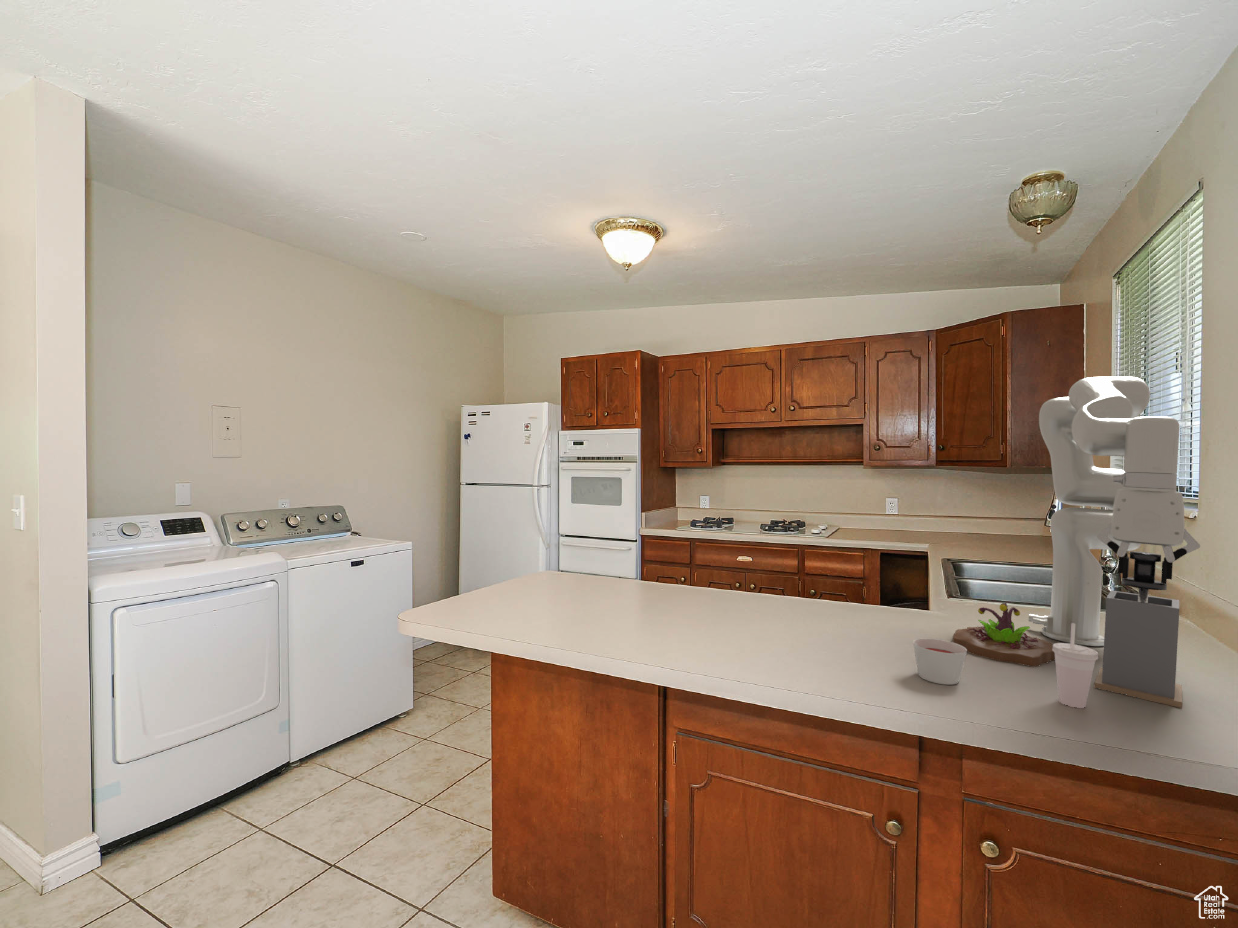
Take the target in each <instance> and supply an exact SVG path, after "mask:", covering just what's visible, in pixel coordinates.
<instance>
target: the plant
mask: <svg viewBox="0 0 1238 928" xmlns="http://www.w3.org/2000/svg"><path fill="white" fill-rule="evenodd" d="M999 610H1000V611H1002V615H1001V616H1000V615H999V614H998V613H997V612H996V611H995V610H993V609H992V608H987V607H980V608H978V610H977V611H978V614H980V615H984V614H985V613H986V611H988V612H990V613H991V614H992V615H993V616H994V617H995V618H996V619H997V622H995V621H994V620H992V619H991V618H988V622H986V621H984V620H981V619H978V622H979V623H980V624H981V625H982V626H968V627H966V628H958V629H956V630H955V632H954V633H953V636H952V642H953V643H956V644H959V645H961V646H963V647H965V648H966V649H967V653H970V654H972V655H975V656H979V657H983V658H986V659H991V660H993V661H994V660H995V661H998V662H1005V663H1012V662H1013V664H1019V665H1023V664H1024V666H1027V665H1029V666H1028V667H1040V666H1042V665H1043V664H1044V665H1045V664H1048V663H1049V662H1051V661H1055V660H1054V659H1055V653H1054V651H1052V649H1053V644H1054V643H1052V642H1051V641H1048V640H1044V639H1042V638H1039V637H1034V636H1030V635H1028V634H1027V633H1026V631H1027V630H1029V629H1031V627H1030V625H1029V626H1020V627H1017V628H1016V629H1015V622H1013V620H1012V613H1013V614H1014V616H1016V617H1019V616H1020V615H1021V612H1020V610H1019V609H1018V608H1016V607H1014V606H1013V607H1011V608H1010V609H1009V608H1008V605H1007V602H1002V603H1001V604H1000V605H999ZM1050 660H1051V661H1050ZM1047 662H1048V663H1047ZM1039 665H1040V666H1039Z"/></svg>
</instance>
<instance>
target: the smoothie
mask: <svg viewBox="0 0 1238 928" xmlns="http://www.w3.org/2000/svg"><path fill="white" fill-rule="evenodd" d="M1074 641H1075V624H1074V623H1071V640H1070V643H1067V642H1057V643H1056V642H1055V643H1052V644H1053V649H1052V651H1054V653H1055V660H1054V663H1055V672H1056V681H1057V683H1056V684H1057V693H1058V702H1059V703H1060V702H1061V703H1060V704H1061V705H1064V704H1065V705H1064V706H1066V705H1068V706H1067V707H1070V708H1074V707H1077V708H1076V709H1085V708H1086V706H1087V702H1088V697H1089V693H1090V688H1091V683H1092V677H1093V673H1094V669H1095V664H1096V660H1099V653H1098V651H1096V650H1095V649H1092V648H1090V647H1087V646H1085V645H1078V644H1074ZM1084 707H1085V708H1084Z"/></svg>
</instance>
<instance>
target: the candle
mask: <svg viewBox="0 0 1238 928" xmlns="http://www.w3.org/2000/svg"><path fill="white" fill-rule="evenodd" d="M913 649H914V656H915V657H914V658H915V661H916V670H917V674H918V676H919V677H920V678H921V679H923V680H925V681H927V682H930V683H934V684H939V685H949V686H950V685H951V686H952V685H956V684H958V683H959V682H960V679H961V676H962V671H963V669H964V668H963V667H964V664H965V661H966V657H967V653H968V652H967V649H966V648H965V647H963V646H961V645H959V644H956V643H953V641H949V640H943V639H938V638H931V637H930V638H928V637H925V638H923V637H922V638H916V639H913Z"/></svg>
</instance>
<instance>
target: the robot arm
mask: <svg viewBox="0 0 1238 928" xmlns="http://www.w3.org/2000/svg"><path fill="white" fill-rule="evenodd" d="M1150 397H1151V391H1150V387H1149V386H1148V385H1147V383H1146V382H1145V381H1144V380H1143V379H1141V378H1139V377H1135V376H1093V377H1092V376H1091V377H1085V378H1082V379H1079V380H1078V381H1076V382H1075V383H1073V384H1072V385H1071V387H1070V388H1069V391H1068V396H1063V397H1056V398H1055V397H1054V398H1051V399H1048V400H1047V401H1045V402H1043V404H1041V407H1040V409H1039V413H1038V426H1039V429H1040V434H1041V437H1042V439H1043V441H1044V444H1045V445H1046V448H1047V451H1048V452H1049V456H1050V465H1051V471H1052V472H1051V473H1052V475H1051V476H1052V483H1053V489H1054V495H1055V497H1056V499H1057V501H1058V502H1060V503H1061V504H1064V505H1070V506H1077V507H1064V508H1061V509H1058V510H1056V511H1055V512H1054V513H1053V514H1052V516H1051V517H1050V522H1049V523H1050V524H1049V526H1050V534H1051V541H1052V575H1051V577H1052V579H1051V597H1050V613H1049V614H1048V615H1044V616H1043V615H1042V616H1041V615H1038V614H1033V613H1029V614H1028V622H1031V623H1032V624H1035V625H1041V626H1042V625H1043V626H1044V627H1042V628H1041V634H1042V635H1044V636H1045V637H1048V638H1049V639H1053V640H1056V641H1059V642H1062V643H1068V644H1070V640H1071V623H1074V624H1075V641H1074V644H1075V645H1080V646H1085V647H1087V646H1088V647H1104V635H1101V634H1100V622H1101V621H1100V619H1101V605H1102V604H1101V602H1102V584H1103V567H1102V565H1101V563H1100V562H1099V560H1098V559H1097V558H1096V557H1095V556H1094V554H1093V553H1092V552H1091V550H1105V551H1107V550H1108V551H1113V552H1114V553H1115V554H1116V556H1118V565H1117V566H1118V568H1117V569H1118V570H1117V572H1118V574H1122V577H1121V579H1122V578H1124V579H1126V578H1128V577H1129V565H1130V556H1129V555H1128V554H1129V553H1127V552H1131V551H1136V550H1137V549H1139V548H1140V547H1141V545H1142V544H1143V545H1151V546H1161V547H1162V550H1163V554H1164V557H1163V560H1161V578H1160V582H1161V583H1163V584H1166V583H1167V580H1172V579H1173V563H1174V562H1175V561H1177V560H1179V559H1180V558H1182V557H1184V556H1185V555H1187V554H1190V553H1192V552H1194V551H1196V550H1199V549H1200V548H1201V545H1200V543H1199V542H1198V541H1197V540H1196V539H1195V538H1194V537H1193V535H1191V533H1190V532H1189V531H1188V530H1187V529H1186V528H1185V505H1184V497H1183V493H1182V492H1180V491H1177V484H1178V483H1177V482H1178V481H1177V479H1178V460H1179V459H1178V458H1179V442H1180V423H1179V420H1177V419H1176V418H1175V417H1171V416H1140V415H1141V414H1142V413H1143V412H1144V411H1145V410H1146V408H1147V406H1148V405H1149V403H1150V399H1151V398H1150ZM1093 456H1099V457H1124V459H1123V460H1124V461H1123V469H1119V468H1109V467H1108V468H1106V467H1104V468H1103V467H1097V466H1095V463H1094V457H1093ZM1079 506H1080V507H1079ZM1081 506H1082V507H1081ZM1088 507H1092V508H1088ZM1093 507H1094V508H1093ZM1095 507H1096V508H1095ZM1097 507H1099V508H1097ZM1100 508H1101V509H1100ZM1103 508H1106V509H1103ZM1184 541H1185V542H1186V545H1184V546H1182V547H1179V548H1178V549H1176V550H1174V549H1173V547H1177V546H1180V545H1182V544H1183V543H1184Z"/></svg>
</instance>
